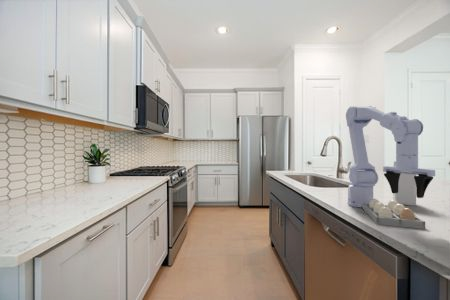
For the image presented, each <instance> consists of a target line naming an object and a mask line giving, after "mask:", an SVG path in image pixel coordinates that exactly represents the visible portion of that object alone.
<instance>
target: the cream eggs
mask: <svg viewBox="0 0 450 300" xmlns="http://www.w3.org/2000/svg"><path fill="white" fill-rule="evenodd" d="M384 205H385V204H384V203H383V202H380V200H379V199H377V198H373V199H372V200H371V201H370V203H369V208H374V212H379V217H384V218H392V212H391V210H390V209H393V213H394V214H400V212H401V211H402V210H403V209H404V208H406V205H402V204H398V202H397V201H395V200H393V199H391V200H389V202H388V203H387V207H385V206H384Z"/></svg>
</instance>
